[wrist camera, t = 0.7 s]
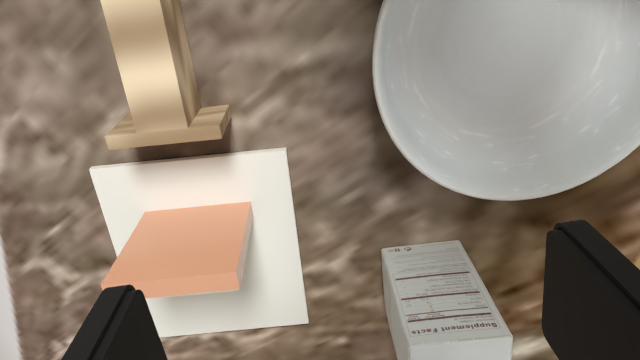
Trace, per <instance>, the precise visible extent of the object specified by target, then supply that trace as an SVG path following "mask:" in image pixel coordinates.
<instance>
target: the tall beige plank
mask: <svg viewBox="0 0 640 360" xmlns="http://www.w3.org/2000/svg"><path fill="white" fill-rule="evenodd" d="M101 4H102V8H103V12H104V15H105V19H106V23H107V26H108V30H109V34H110V38H111V41H112V45H113V49H114V52H115V56H116V60H117V64H118V67H119V71H120V75H121V79H122V82H123V86H124V90H125V93H126V97H127V101H128V105H129V108H130V112H131V115H127V116H126V117H125V118H124V119H123V120H122V121H121V122H120V123H119V124H118V125H117V126H115V127H114V128H113V129H112V130H111V131H110V132H109V133H108V134H107V135H106V136H105V139H106V142H107V146H108V149H109V150H113V149H123V148H133V147H143V146H153V145H164V144H174V143H184V142H194V141H204V140H214V139H222V137H223V135H224V133H225V130H226V128H227V126H228V123H229V121H230V119H231V113H230V107H229V105H222V106H212V107H202V108H201V104H200V99H199V94H198V89H197V85H196V80H195V75H194V70H193V65H192V60H191V55H190V50H189V45H188V40H187V35H186V30H185V26H184V21H183V16H182V11H181V6H180V1H179V0H101Z"/></svg>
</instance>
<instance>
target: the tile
mask: <svg viewBox="0 0 640 360" xmlns="http://www.w3.org/2000/svg"><path fill="white" fill-rule="evenodd" d="M252 220H253V211H252V206H251V201H250V202H240V203H229V204H219V205H209V206H199V207H188V208H178V209H168V210H157V211H147V212H144V214H143V216H142V217H141V219H140V221H139V222H138V224H137V226H136V227H135V229H134V231H133V232H132V234H131V236H130V237H129V239H128V241H127V242H126V244H125V246H124V247H123V249H122V251H121V252H120V254H119V256H118V257H117V259H116V261H115V262H114V264H113V266H112V267H111V269H110V271H109V272H108V274H107V276H106V277H105V279H104V281H103V282H102V284H101V287H102V290H104V289H105V288H108V287H115V286H122V285H129V284H130V285H133V287H134V288H135V290H138V289H139V290H141V291H142V292H143V294H144V296H145V299H153V298H164V297H174V296H185V295H195V294H206V293H216V292H227V291H237V290H238V289H240V285H241V280H242V274H243V269H244V263H245V258H246V253H247V247H248V242H249V236H250V231H251V225H252Z"/></svg>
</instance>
